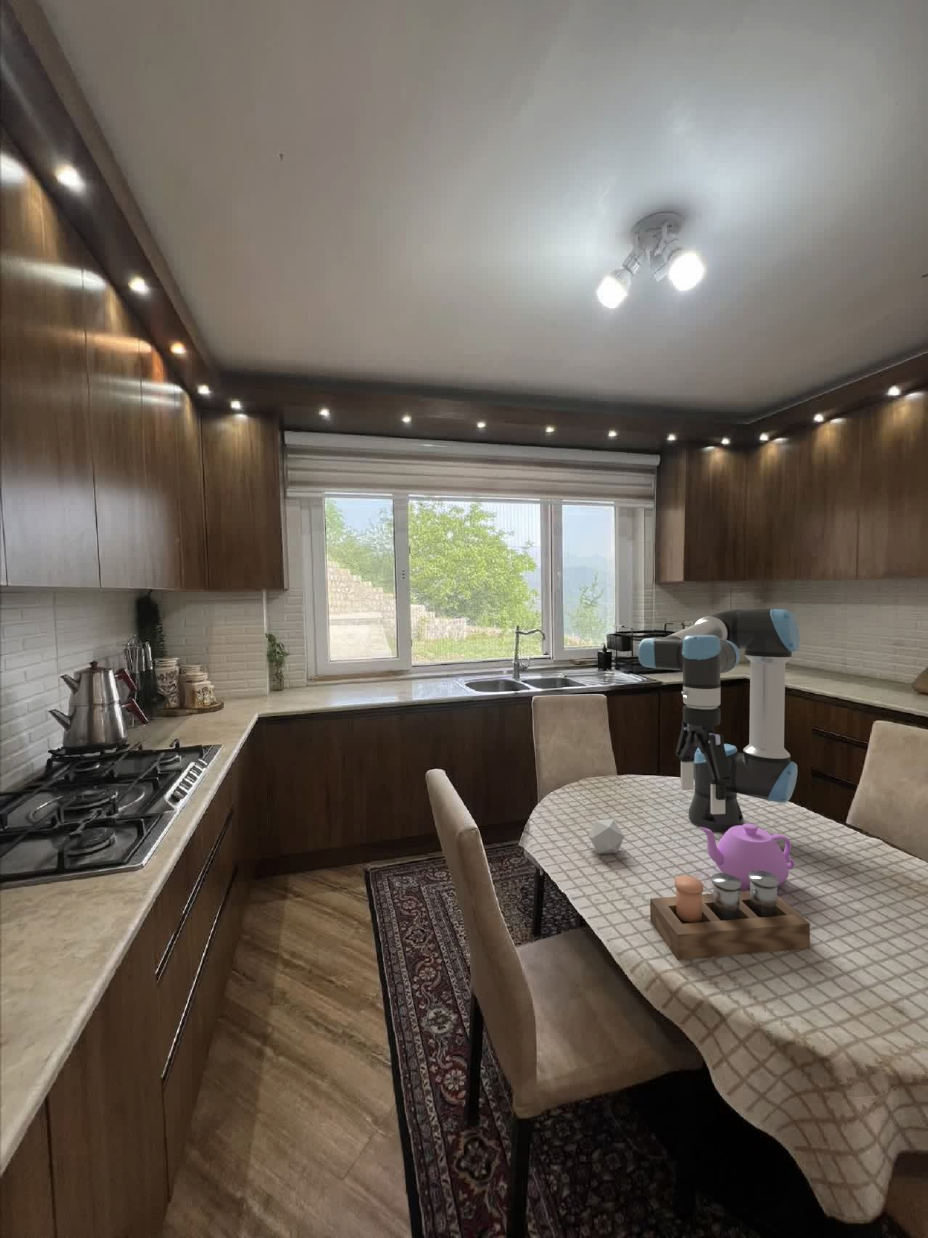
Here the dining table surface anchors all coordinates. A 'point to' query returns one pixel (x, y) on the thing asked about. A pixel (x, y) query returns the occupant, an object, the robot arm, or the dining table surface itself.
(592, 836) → the die
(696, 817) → the robot arm
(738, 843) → the teapot
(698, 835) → the dining table surface
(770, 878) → the grey plug near
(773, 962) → the dining table surface
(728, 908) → the grey plug mid
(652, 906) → the wooden compartment tray
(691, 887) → the peach plug
